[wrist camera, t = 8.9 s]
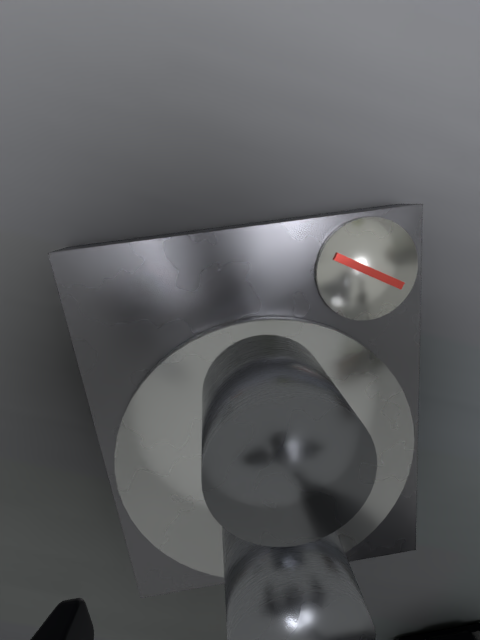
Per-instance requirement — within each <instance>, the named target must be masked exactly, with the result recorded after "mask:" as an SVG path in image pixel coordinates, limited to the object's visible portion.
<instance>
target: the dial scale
mask: <svg viewBox="0 0 480 640" xmlns="http://www.w3.org/2000/svg"><path fill="white" fill-rule="evenodd" d="M422 209H423V204H395V205H387V206H380V207H372V208H364V209H357V210H349V211H341V212H334V213H326V214H318V215H311V216H303V217H295V218H288V219H280V220H272V221H265V222H257V223H249V224H242V225H234V226H226V227H219V228H211V229H203V230H196V231H188V232H180V233H173V234H165V235H157V236H150V237H142V238H134V239H127V240H119V241H111V242H104V243H96V244H88V245H80V246H73V247H66V248H63V249H60V250H56V251H53V252H50V253H48V255H49V259H50V263H51V266H52V270H53V274H54V277H55V281H56V285H57V289H58V292H59V296H60V300H61V303H62V307H63V311H64V314H65V318H66V322H67V326H68V329H69V333H70V337H71V340H72V344H73V348H74V352H75V355H76V359H77V363H78V366H79V370H80V374H81V378H82V381H83V385H84V389H85V392H86V396H87V400H88V404H89V407H90V411H91V415H92V418H93V422H94V426H95V429H96V433H97V437H98V441H99V444H100V448H101V452H102V455H103V459H104V463H105V467H106V470H107V474H108V478H109V481H110V485H111V489H112V493H113V496H114V500H115V504H116V507H117V511H118V515H119V519H120V522H121V526H122V530H123V533H124V537H125V541H126V544H127V548H128V552H129V556H130V559H131V563H132V567H133V570H134V574H135V578H136V582H137V585H138V589H139V593H140V596H141V598H144V597H150V596H155V595H161V594H167V593H172V592H178V591H184V590H189V589H195V588H201V587H206V586H212V585H218V584H224V583H225V582H224V562H223V542H222V526H221V525H220V524H219V523H218V522H217V521H216V519H215V518H214V517H213V516H212V514H211V512H210V511H209V509H208V507H207V505H206V502H205V500H204V496H203V492H202V484H201V452H202V389H203V383H204V378H205V376H206V373H207V371H208V369H209V367H210V365H211V364H212V362H213V361H214V360H215V358H216V357H217V356H218V355H219V354H220V353H221V352H222V351H224V350H225V349H226V348H227V347H229V346H230V345H232V344H234V343H235V342H237V341H240V340H242V339H245V338H248V337H251V336H257V335H278V336H283V337H286V338H289V339H292V340H294V341H296V342H298V343H300V344H301V345H303V346H304V347H305V348H306V349H308V350H309V351H310V352H311V353H312V355H313V356H314V357H315V358H316V360H317V361H318V362H319V364H320V365H321V367H322V368H323V369H324V371H325V372H326V373H327V375H328V376H329V378H330V379H331V380H332V382H333V383H334V384H335V386H336V387H337V389H338V390H339V391H340V393H341V394H342V396H343V397H344V398H345V400H346V401H347V402H348V404H349V405H350V407H351V408H352V409H353V411H354V412H355V413H356V415H357V416H358V418H359V419H360V420H361V422H362V423H363V424H364V426H365V427H366V429H367V430H368V432H369V434H370V435H371V438H372V440H373V443H374V445H375V449H376V454H377V473H376V478H375V482H374V485H373V488H372V490H371V493H370V495H369V497H368V498H367V500H366V502H365V503H364V505H363V506H362V508H361V509H360V510H359V511H358V512H357V514H356V515H355V516H354V517H353V518H352V519H351V520H349V521H348V522H347V523H346V524H345V525H344V526H342V527H341V528H339V529H338V530H336V532H337V534H338V537H339V539H340V542H341V544H342V547H343V549H344V552H345V554H346V557H347V559H348V562H349V561H354V560H360V559H366V558H372V557H377V556H383V555H389V554H394V553H400V552H406V551H411V550H416V509H417V459H418V409H419V359H420V309H421V259H422Z"/></svg>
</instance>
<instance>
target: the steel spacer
mask: <svg viewBox="0 0 480 640" xmlns="http://www.w3.org/2000/svg"><path fill="white" fill-rule="evenodd" d="M376 473H377V454H376V449H375V445H374V443H373V440H372V438H371V435H370V434H369V432H368V430H367V429H366V427H365V426H364V424H363V423H362V422H361V420H360V419H359V418H358V416H357V415H356V413H355V412H354V411H353V409H352V408H351V407H350V405H349V404H348V402H347V401H346V400H345V398H344V397H343V396H342V394H341V393H340V391H339V390H338V389H337V387H336V386H335V384H334V383H333V382H332V380H331V379H330V378H329V376H328V375H327V373H326V372H325V371H324V369H323V368H322V367H321V365H320V364H319V362H318V361H317V360H316V358H315V357H314V356H313V355H312V353H311V352H310V351H309V350H308V349H306V348H305V347H304V346H303V345H301V344H300V343H298V342H296V341H294V340H292V339H289V338H286V337H283V336H278V335H257V336H251V337H248V338H245V339H242V340H240V341H237V342H235V343H234V344H232V345H230V346H229V347H227V348H226V349H225V350H224V351H222V352H221V353H220V354H219V355H218V356H217V357H216V358H215V360H214V361H213V362H212V364H211V365H210V367H209V369H208V371H207V373H206V376H205V378H204V383H203V389H202V452H201V484H202V492H203V496H204V500H205V502H206V505H207V507H208V509H209V511H210V512H211V514H212V516H213V517H214V518H215V519H216V521H217V522H218V523H219V524H220V525H221V526H222V527H223V528H225V529H226V530H227V531H228V532H230V533H231V534H233V535H234V536H236V537H238V538H240V539H242V540H245V541H248V542H251V543H253V544H258V545H262V546H270V547H289V546H297V545H302V544H307V543H310V542H313V541H316V540H319V539H321V538H323V537H325V536H328V535H329V534H331V533H333V532H335V531H336V530H338V529H339V528H341V527H342V526H344V525H345V524H346V523H347V522H348V521H349V520H351V519H352V518H353V517H354V516H355V515H356V514H357V512H358V511H359V510H360V509H361V508H362V506H363V505H364V503H365V502H366V500H367V498H368V497H369V495H370V493H371V490H372V488H373V485H374V482H375V478H376Z"/></svg>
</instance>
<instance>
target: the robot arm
mask: <svg viewBox="0 0 480 640" xmlns="http://www.w3.org/2000/svg"><path fill="white" fill-rule="evenodd" d="M31 640H94V629H93V624H92V621H91V618H90V615H89V612H88V609H87V606H86V603H85V601H84V600H83V599H82V598H76V599H70V600H65V601H62V602H61V603H59V604H58V605H57V606H56V608H55V609H54V610H53V612H52V613H51V614H50V615H49V617H48V618H47V619H46V621H45V622H44V623H43V624H42V626H41V627H40V628H39V630H38V631H37V632H36V633H35V635H34V636H33V637H32V639H31ZM398 640H480V623H479V624H474V625H468V626H463V627H458V628H452V629H447V630H442V631H436V632H431V633H426V634H420V635H415V636H409V637H404V638H400V639H398Z"/></svg>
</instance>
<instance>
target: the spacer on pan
mask: <svg viewBox="0 0 480 640" xmlns="http://www.w3.org/2000/svg"><path fill="white" fill-rule="evenodd" d="M222 542H223V562H224V582H225V601H226V621H227V640H375V638H376V634H375V627H374V624H373V621H372V619H371V616H370V614H369V611H368V609H367V606H366V604H365V601H364V599H363V596H362V594H361V591H360V589H359V586H358V584H357V581H356V579H355V576H354V574H353V571H352V569H351V567H350V564H349V562H348V559H347V557H346V554H345V552H344V549H343V547H342V544H341V542H340V539H339V537H338V534H337V532H336V531H335V532H333V533H331V534H329V535H328V536H325V537H323V538H321V539H319V540H316V541H313V542H310V543H307V544H302V545H297V546H289V547H270V546H262V545H258V544H253V543H251V542H248V541H245V540H242V539H240V538H238V537H236V536H234V535H233V534H231V533H230V532H228V531H227V530H226V529H225V528H223V527H222Z"/></svg>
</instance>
